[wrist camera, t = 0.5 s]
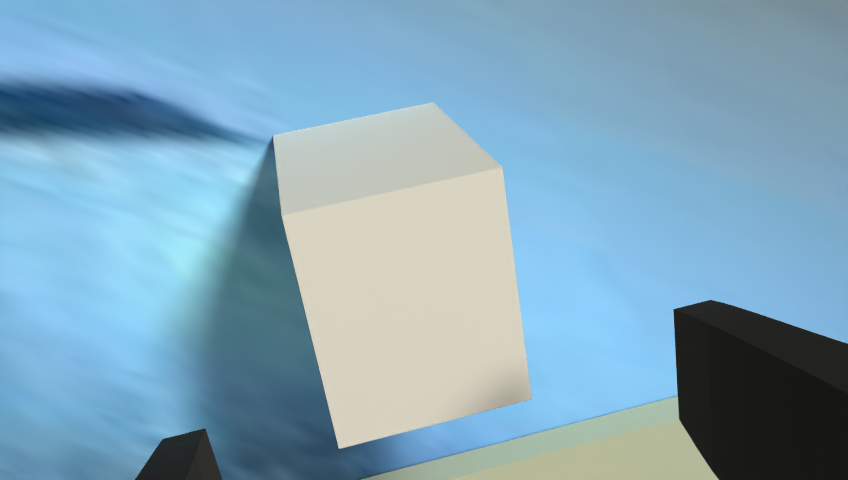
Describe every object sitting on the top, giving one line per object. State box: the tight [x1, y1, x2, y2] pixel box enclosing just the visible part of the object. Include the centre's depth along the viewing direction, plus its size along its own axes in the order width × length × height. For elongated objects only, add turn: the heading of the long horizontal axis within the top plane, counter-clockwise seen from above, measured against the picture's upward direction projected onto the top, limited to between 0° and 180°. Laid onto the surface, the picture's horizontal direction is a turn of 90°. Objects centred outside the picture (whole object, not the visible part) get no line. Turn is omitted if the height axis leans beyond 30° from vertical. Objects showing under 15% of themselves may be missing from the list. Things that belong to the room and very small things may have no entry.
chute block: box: [273, 102, 532, 449], centre depth 18 cm, size 4×5×6 cm
